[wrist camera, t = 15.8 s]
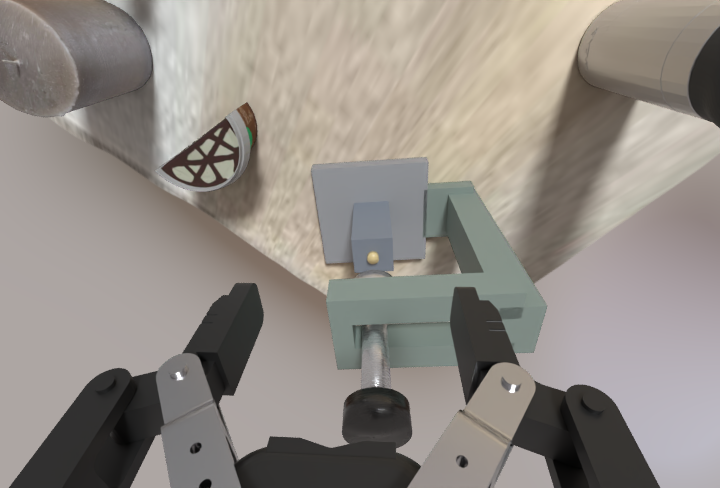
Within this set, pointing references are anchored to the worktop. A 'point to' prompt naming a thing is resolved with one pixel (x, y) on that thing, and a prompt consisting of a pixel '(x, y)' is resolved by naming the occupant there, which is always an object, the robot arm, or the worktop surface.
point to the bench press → (409, 231)
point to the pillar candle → (68, 54)
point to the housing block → (372, 237)
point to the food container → (215, 154)
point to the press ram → (376, 391)
